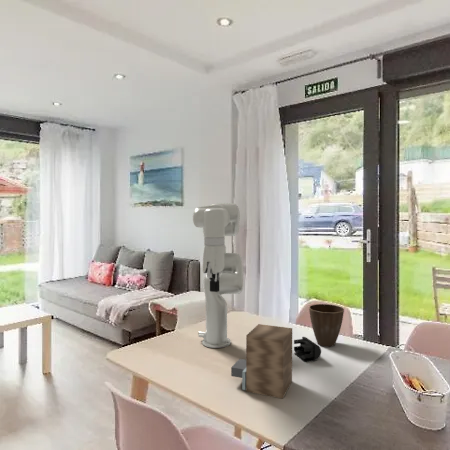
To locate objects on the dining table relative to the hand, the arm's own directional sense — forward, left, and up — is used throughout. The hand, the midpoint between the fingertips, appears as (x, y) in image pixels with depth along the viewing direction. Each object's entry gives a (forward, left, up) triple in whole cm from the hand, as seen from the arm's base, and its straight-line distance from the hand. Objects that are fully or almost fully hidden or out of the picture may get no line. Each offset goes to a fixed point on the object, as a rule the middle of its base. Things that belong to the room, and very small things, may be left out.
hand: (214, 291), depth 140 cm
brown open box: (+23, -6, -29) cm, 38 cm away
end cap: (+30, +24, -29) cm, 48 cm away
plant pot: (+35, +42, -29) cm, 62 cm away
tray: (+19, -6, -29) cm, 35 cm away
